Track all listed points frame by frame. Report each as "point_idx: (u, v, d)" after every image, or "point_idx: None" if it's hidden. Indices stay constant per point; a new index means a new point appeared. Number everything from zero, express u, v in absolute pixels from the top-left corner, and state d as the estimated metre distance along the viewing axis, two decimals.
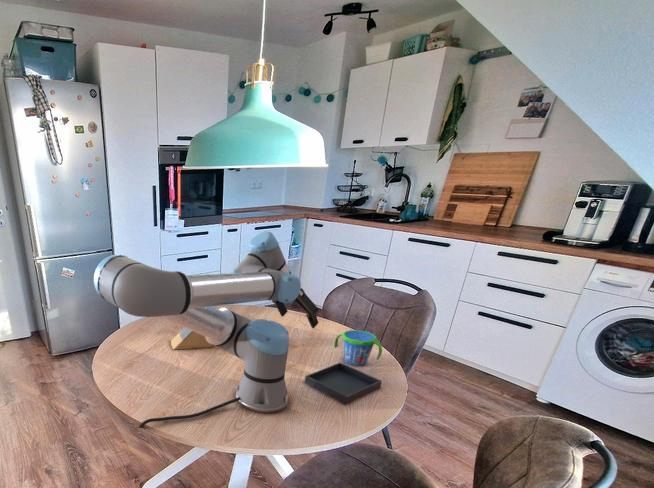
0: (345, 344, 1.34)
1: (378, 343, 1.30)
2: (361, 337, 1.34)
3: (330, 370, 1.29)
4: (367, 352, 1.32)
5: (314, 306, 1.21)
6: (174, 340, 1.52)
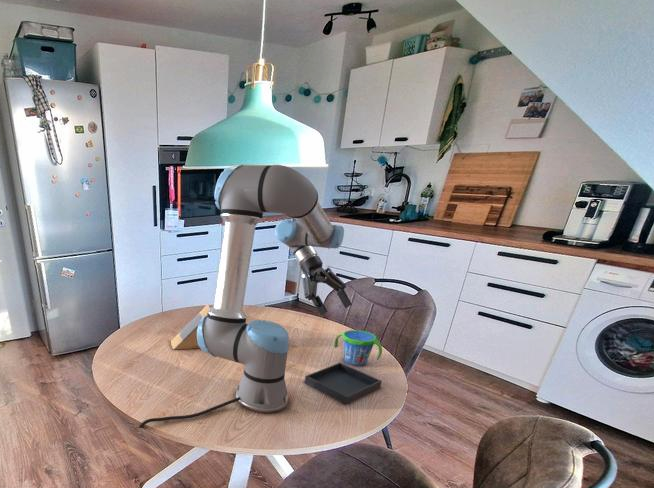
0: (345, 344, 1.34)
1: (378, 343, 1.30)
2: (361, 337, 1.34)
3: (330, 370, 1.29)
4: (367, 352, 1.32)
5: None
6: (174, 340, 1.52)
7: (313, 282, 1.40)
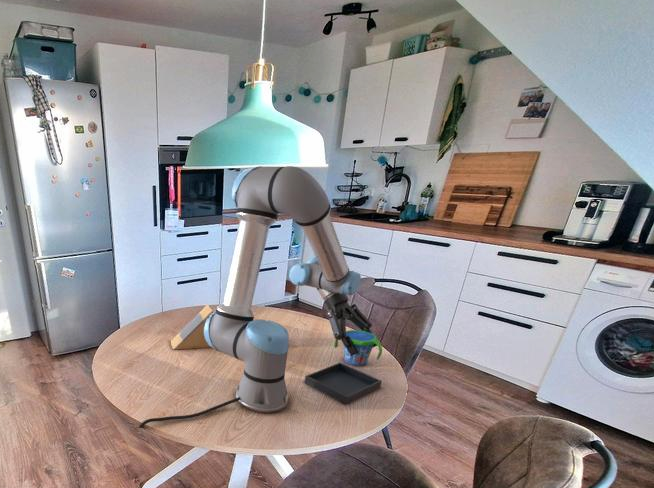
0: None
1: (378, 343, 1.30)
2: (361, 337, 1.34)
3: (330, 370, 1.29)
4: (367, 352, 1.32)
5: None
6: (174, 340, 1.52)
7: (340, 320, 1.34)
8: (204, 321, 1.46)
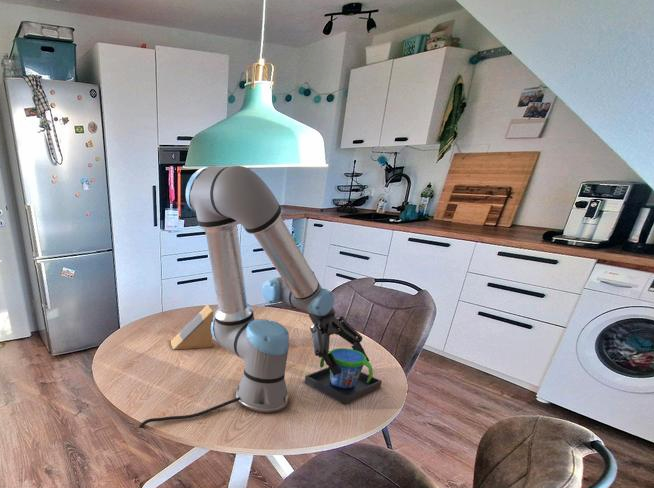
0: None
1: (368, 364, 1.15)
2: (349, 357, 1.19)
3: None
4: (356, 374, 1.17)
5: None
6: (174, 340, 1.52)
7: (324, 335, 1.19)
8: (204, 321, 1.46)
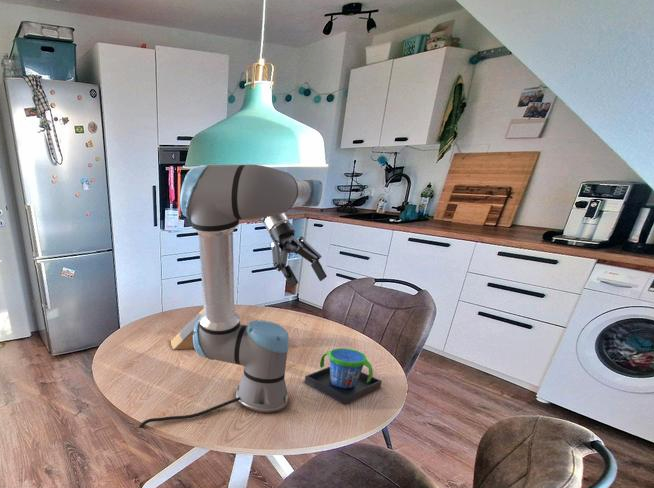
0: (331, 364, 1.19)
1: (368, 364, 1.15)
2: (349, 357, 1.19)
3: None
4: (356, 374, 1.17)
5: None
6: (174, 340, 1.52)
7: (283, 251, 1.25)
8: None
